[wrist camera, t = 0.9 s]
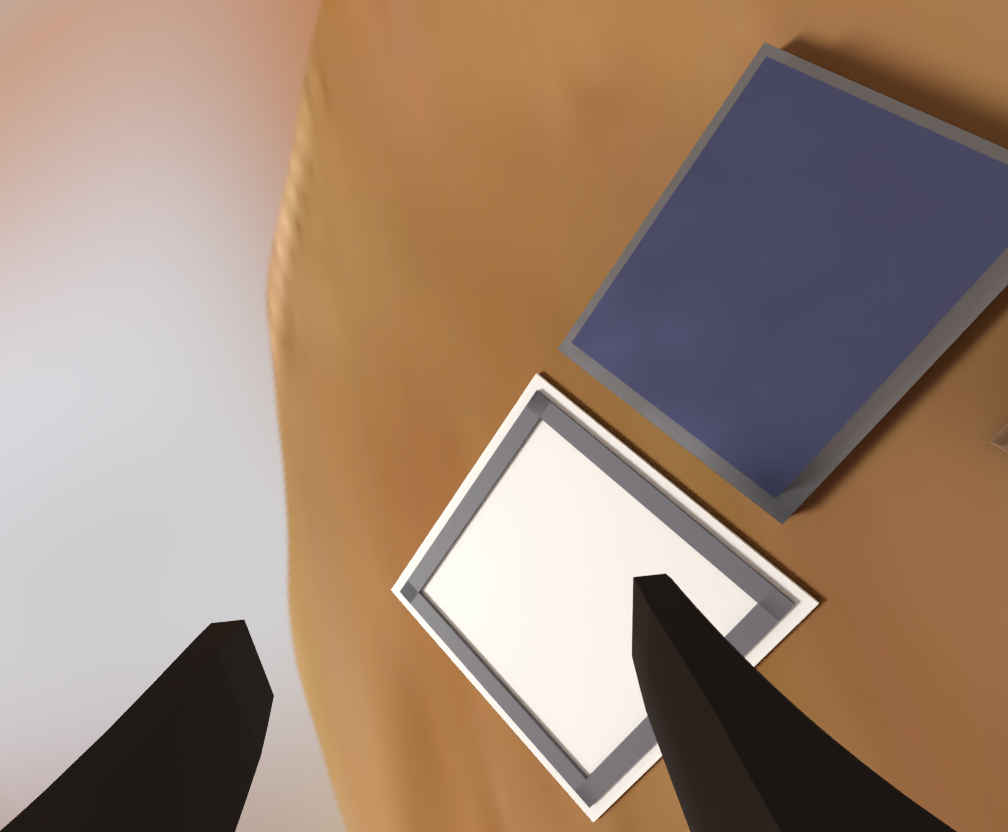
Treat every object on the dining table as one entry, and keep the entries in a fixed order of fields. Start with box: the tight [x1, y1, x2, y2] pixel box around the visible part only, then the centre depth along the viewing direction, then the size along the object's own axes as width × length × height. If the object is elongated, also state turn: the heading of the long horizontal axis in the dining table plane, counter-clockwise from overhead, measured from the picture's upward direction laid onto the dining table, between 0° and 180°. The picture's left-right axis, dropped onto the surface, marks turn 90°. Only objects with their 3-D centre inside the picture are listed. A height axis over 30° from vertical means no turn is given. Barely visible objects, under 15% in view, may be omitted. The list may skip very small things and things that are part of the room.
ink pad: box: [558, 42, 1008, 524], centre depth 19 cm, size 10×12×2 cm
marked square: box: [391, 373, 819, 822], centre depth 23 cm, size 13×13×1 cm
